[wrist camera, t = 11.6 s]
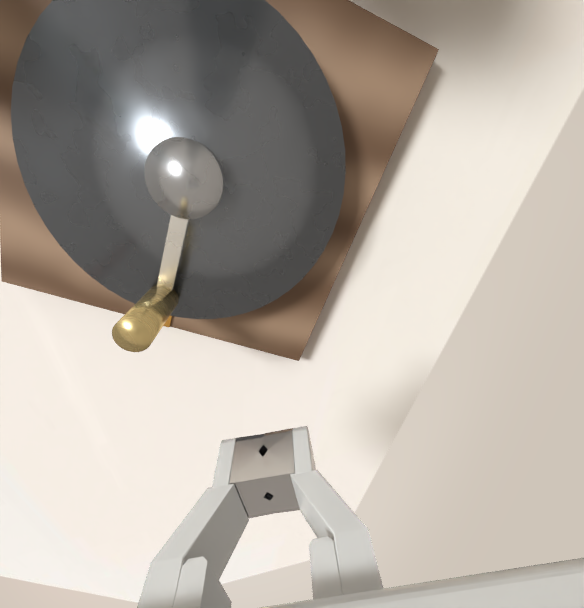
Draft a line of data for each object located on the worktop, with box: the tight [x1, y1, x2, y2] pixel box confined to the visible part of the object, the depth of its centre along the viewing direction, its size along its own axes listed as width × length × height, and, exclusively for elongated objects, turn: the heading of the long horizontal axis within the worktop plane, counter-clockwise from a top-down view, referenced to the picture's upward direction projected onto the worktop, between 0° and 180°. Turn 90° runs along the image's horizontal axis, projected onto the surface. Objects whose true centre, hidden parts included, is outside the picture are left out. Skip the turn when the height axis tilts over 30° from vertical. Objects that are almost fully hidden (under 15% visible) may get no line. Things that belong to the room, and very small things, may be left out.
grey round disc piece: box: [11, 0, 346, 352], centre depth 19 cm, size 22×22×8 cm
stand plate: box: [0, 0, 439, 361], centre depth 23 cm, size 27×27×2 cm
